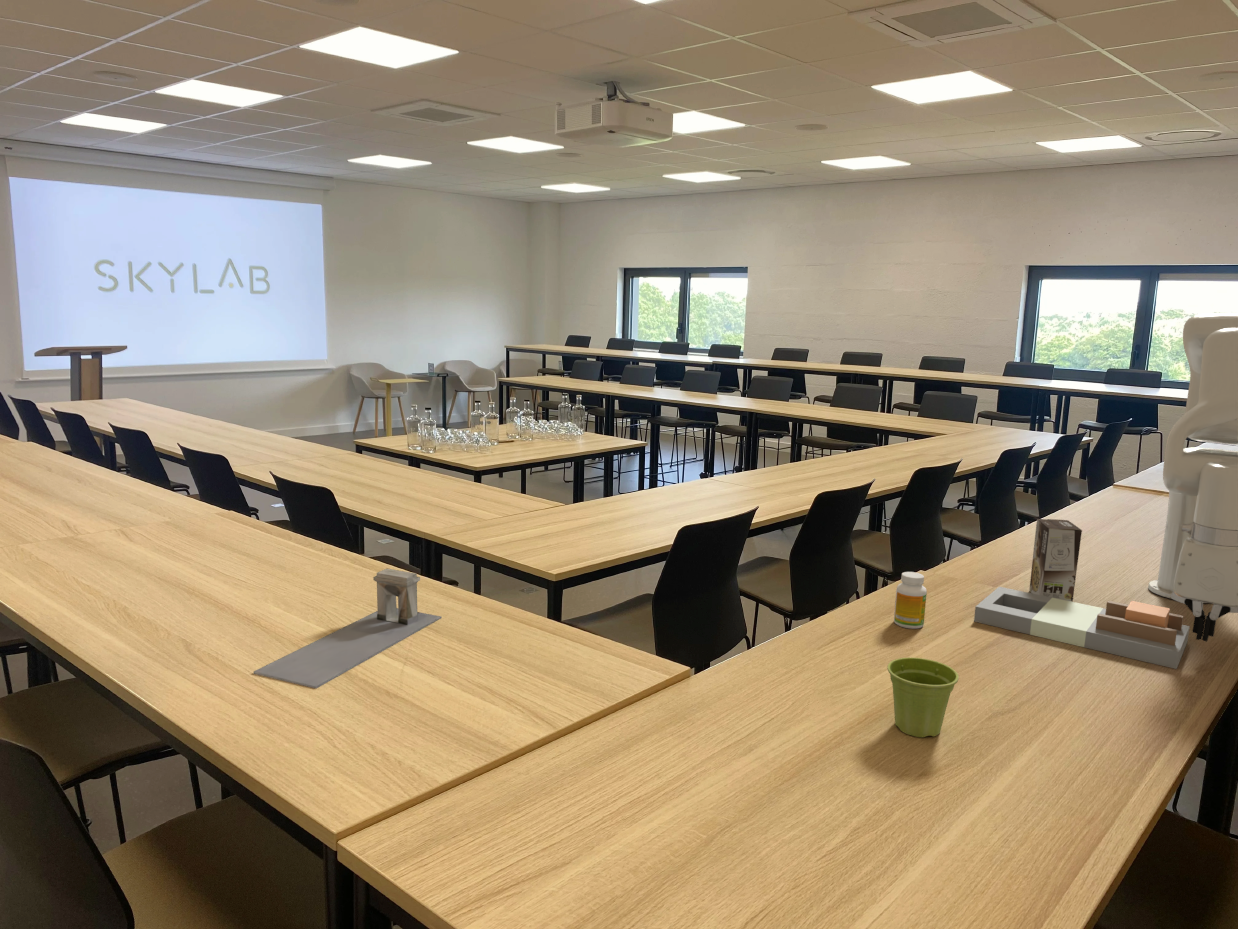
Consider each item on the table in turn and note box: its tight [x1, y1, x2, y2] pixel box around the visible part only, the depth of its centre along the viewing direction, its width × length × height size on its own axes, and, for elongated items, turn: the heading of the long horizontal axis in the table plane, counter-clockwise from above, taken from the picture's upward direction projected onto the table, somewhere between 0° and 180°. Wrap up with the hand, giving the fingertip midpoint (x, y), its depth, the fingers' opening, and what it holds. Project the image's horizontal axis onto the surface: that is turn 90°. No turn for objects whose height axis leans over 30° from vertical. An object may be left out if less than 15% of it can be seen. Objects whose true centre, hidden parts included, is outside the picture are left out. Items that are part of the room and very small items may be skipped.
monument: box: [253, 568, 442, 690], centre depth 146 cm, size 12×33×10 cm, turn 158°
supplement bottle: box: [893, 571, 928, 630], centre depth 161 cm, size 5×5×10 cm
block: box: [1125, 600, 1171, 628], centre depth 153 cm, size 6×6×4 cm
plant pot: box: [886, 656, 960, 738], centre depth 121 cm, size 9×9×9 cm
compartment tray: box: [973, 586, 1191, 670], centre depth 160 cm, size 16×33×6 cm, turn 51°
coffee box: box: [1028, 518, 1083, 602], centre depth 178 cm, size 9×6×16 cm
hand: (1202, 638), depth 148 cm, fingers closed
